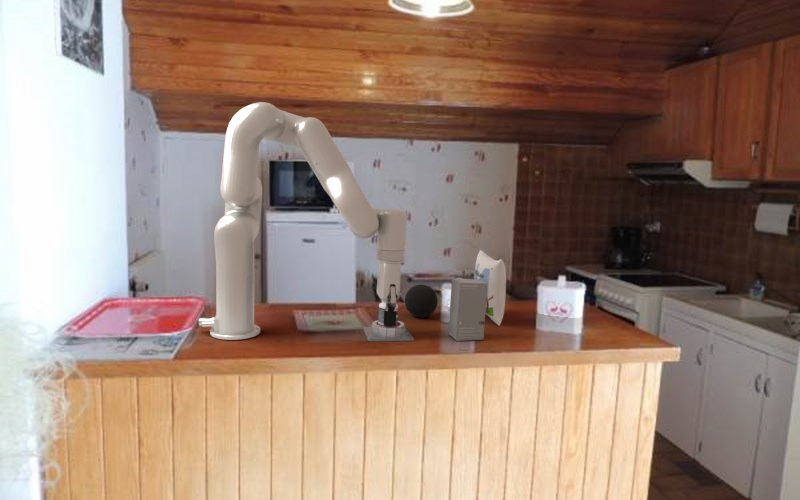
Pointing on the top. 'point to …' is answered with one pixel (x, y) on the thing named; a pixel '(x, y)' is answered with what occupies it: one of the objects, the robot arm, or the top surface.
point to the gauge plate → (388, 333)
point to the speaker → (421, 301)
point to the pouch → (492, 284)
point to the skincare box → (467, 309)
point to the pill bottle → (381, 314)
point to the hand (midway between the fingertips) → (387, 321)
